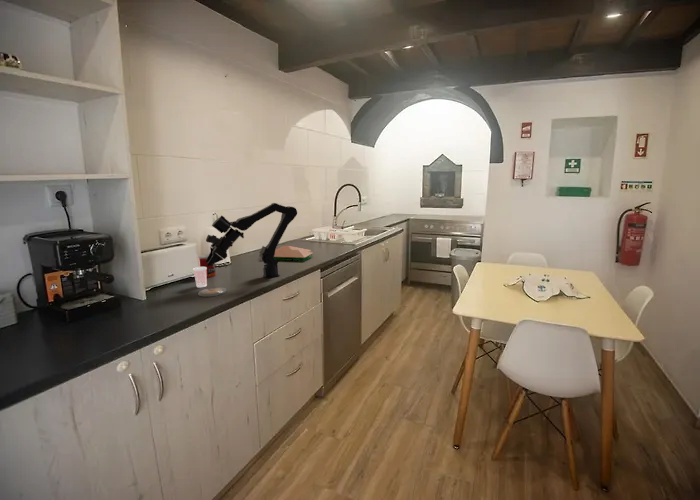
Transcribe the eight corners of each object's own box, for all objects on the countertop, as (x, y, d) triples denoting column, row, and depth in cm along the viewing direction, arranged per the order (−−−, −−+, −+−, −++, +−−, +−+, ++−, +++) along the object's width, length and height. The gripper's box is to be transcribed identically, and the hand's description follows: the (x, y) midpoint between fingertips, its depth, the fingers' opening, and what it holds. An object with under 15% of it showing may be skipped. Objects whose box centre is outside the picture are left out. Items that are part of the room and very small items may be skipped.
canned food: (210, 278, 187) (208, 257, 185) (197, 277, 189) (194, 257, 187) (218, 274, 194) (216, 254, 192) (205, 274, 196) (203, 254, 194)
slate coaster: (221, 287, 169) (220, 285, 169) (230, 292, 160) (230, 291, 160) (194, 292, 162) (194, 291, 161) (203, 298, 152) (203, 297, 152)
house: (273, 254, 249) (273, 242, 248) (318, 255, 241) (317, 243, 239) (257, 261, 228) (256, 248, 226) (305, 262, 219) (304, 249, 217)
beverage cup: (202, 288, 168) (199, 259, 166) (192, 287, 170) (188, 258, 168) (211, 284, 174) (208, 256, 171) (201, 283, 176) (198, 256, 173)
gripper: (213, 226, 179) (191, 250, 176) (217, 230, 163) (193, 256, 160) (231, 240, 184) (210, 264, 181) (236, 245, 167) (213, 271, 165)
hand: (206, 263), depth 172 cm, fingers open, 9 cm apart
